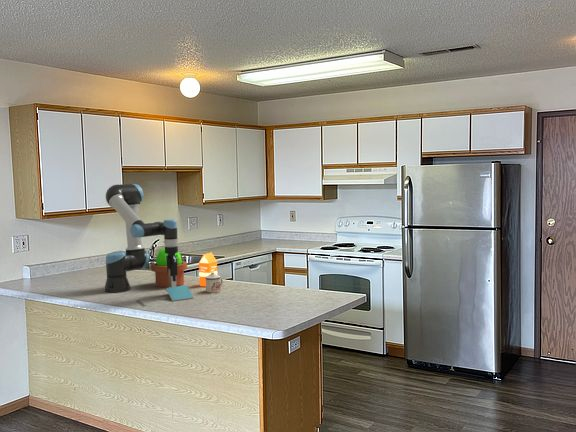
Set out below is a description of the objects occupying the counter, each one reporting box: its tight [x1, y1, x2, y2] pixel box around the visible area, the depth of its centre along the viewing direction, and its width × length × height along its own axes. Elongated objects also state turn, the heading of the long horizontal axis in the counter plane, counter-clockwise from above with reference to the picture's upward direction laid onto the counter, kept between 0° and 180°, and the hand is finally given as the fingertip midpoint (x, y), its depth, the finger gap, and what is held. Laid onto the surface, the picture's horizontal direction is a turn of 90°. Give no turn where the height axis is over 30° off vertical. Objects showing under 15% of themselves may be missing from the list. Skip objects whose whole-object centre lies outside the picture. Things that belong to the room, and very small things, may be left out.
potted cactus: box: [150, 246, 188, 288], centre depth 349 cm, size 22×22×25 cm
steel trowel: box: [165, 268, 177, 292], centre depth 315 cm, size 12×8×13 cm, turn 30°
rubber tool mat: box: [134, 299, 147, 307], centre depth 302 cm, size 16×12×1 cm
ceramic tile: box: [165, 284, 194, 302], centre depth 309 cm, size 12×12×1 cm
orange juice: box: [198, 252, 218, 287], centre depth 345 cm, size 8×9×20 cm
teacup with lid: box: [205, 272, 224, 294], centre depth 326 cm, size 12×9×12 cm
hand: (172, 285), depth 319 cm, fingers closed on steel trowel, 3 cm apart
